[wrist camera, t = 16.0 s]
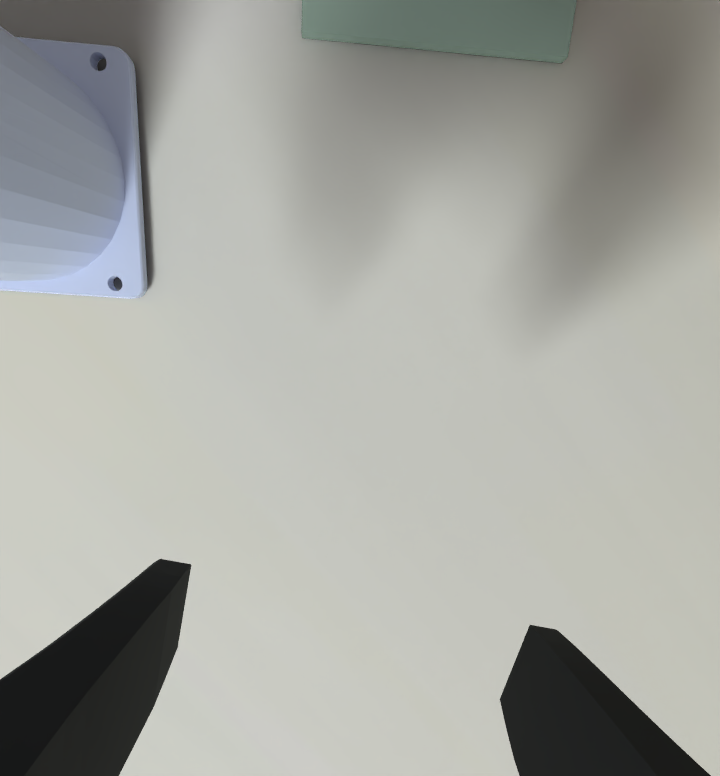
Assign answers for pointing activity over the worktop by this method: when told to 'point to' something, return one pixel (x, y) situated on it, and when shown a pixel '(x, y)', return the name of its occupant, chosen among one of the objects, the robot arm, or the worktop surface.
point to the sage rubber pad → (448, 25)
